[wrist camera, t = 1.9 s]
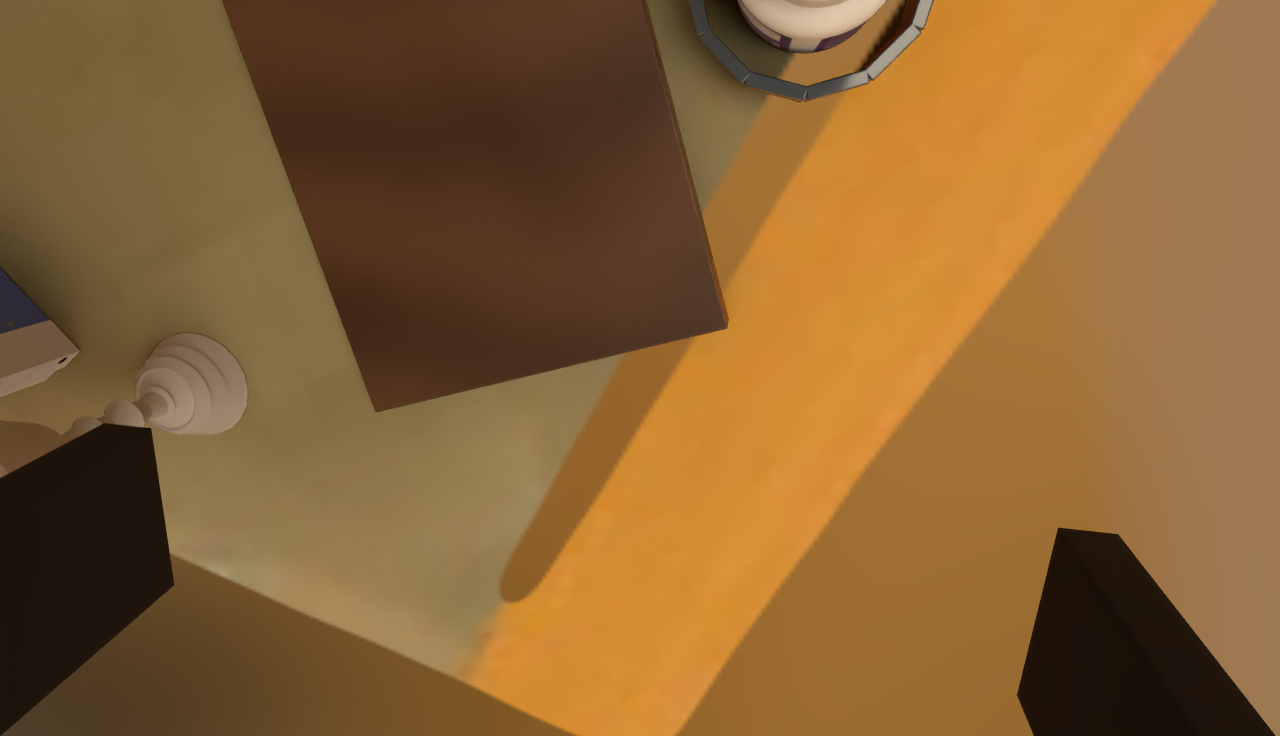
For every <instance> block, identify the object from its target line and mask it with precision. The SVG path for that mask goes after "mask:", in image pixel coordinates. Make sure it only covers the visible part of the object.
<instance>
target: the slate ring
mask: <svg viewBox="0 0 1280 736" xmlns="http://www.w3.org/2000/svg"><path fill="white" fill-rule="evenodd" d="M933 1H934V0H908V1H907V4H906V8H905V11H904V14H903V17H902V20H901V23H900V26H899V29H898V32H897V33H896V34H895V35H894V36H893V37H892V38H891V39H890V40H889V41H888V42H887V43H886V44H885V45H884V46H883V47H882V48H881V49H880V50H879V51H878V52H877V53H876V54H875V55H874V56H873V57H872V58H871V59H870V60H869V61H868V62H867V63H866V64H865V65H864V66H863V67H862V68H861V69H860V70H859V71H857V72H854V73H850V74H847V75H844V76H840V77H837V78H833V79H830V80H826V81H823V82H820V83H816V84H813V85H810V86H804V85H800V84H796V83H792V82H788V81H785V80H781V79H777V78H773V77H769V76H765V75H762V74H758V73H754V72H751V71H750V70H749V69H748V68H747V67H746V66H745V65H744V64H743V63H742V62H741V61H740V60H739V59H738V58H737V57H736V56H735V55H734V53H733V52H732V51H731V50H730V49H729V48H728V47H727V46H726V45H725V44H724V43H723V42H722V41H721V40H720V39H719V38H718V37H717V36H716V35H715V33H714V31H713V27H712V23H711V19H710V14H709V10H708V6H707V2H706V0H689V4H690V8H691V12H692V16H693V20H694V24H695V28H696V32H697V35H698V36H699V38H700V40H701V42H702V43H703V44H704V45H705V47H706V48H707V49H708V50H709V51H710V52H711V53H712V54H713V55H714V56H715V57H716V58H717V59H718V60H719V61H720V62H721V63H722V64H723V65H724V66H725V68H726V69H727V70H728V71H729V72H730V73H731V74H732V75H733V76H734V77H735V78H736V79H737V80H738V81H739V82H740V83H741V84H742V85H743V86H746V87H747V88H748V89H751V90H755V91H759V92H763V93H767V94H770V95H775V96H778V97H782V98H786V99H789V100H793V101H797V102H802V101H804V102H807V101H810V100H814V99H817V98H821V97H824V96H828V95H831V94H835V93H838V92H842V91H845V90H849V89H852V88H856V87H859V86H862V85H865V84H868V83H869V82H870V81H873V80H875V79H876V78H877V77H878V76H879V75H880V74H881V73H882V72H883V71H884V70H885V69H886V68H887V67H888V66H889V65H890V64H891V63H892V62H893V61H894V60H895V59H896V58H897V57H898V56H899V55H900V54H901V53H902V52H903V51H904V50H905V49H906V48H907V47H908V46H909V45H910V44H911V43H912V42H913V41H914V40H915V39H916V38H917V37H918V36H919V35H920V34H921V30H923V29H924V28H925V25H926V22H927V19H928V16H929V13H930V10H931V7H932V4H933Z"/></svg>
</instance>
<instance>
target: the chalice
mask: <svg viewBox="0 0 1280 736" xmlns="http://www.w3.org/2000/svg"><path fill="white" fill-rule="evenodd" d="M135 397H136V401H137V402H132V403H130V402H129V401H126V400H122V399H119V400H113V401H111V402H110V403H109V404H108V405H107V406H106V408H105V410H104V416H103V417H102V418H92V417H88V416H84V417H80V418H77V419H76V420H75V421H74V422H73V424H72V427H71V429H70V430H68V431H67V432H66V433H64V434H63V435H62V436H61V435H60V434H58V433H57V432H55V431H54V430H52V429H50V428H48V427H46V426H43V425H39V424H34V423H23V422H12V421H2V420H0V478H1V477H3V476H5V475H7V474H9V473H11V472H12V471H14V470H16V469H18V468H20V467H22V466H24V465H26V464H28V463H30V462H31V461H33V460H35V459H37V458H39V457H41V456H43V455H45V454H47V453H48V452H50V451H52V450H54V449H56V448H58V447H60V446H62V445H64V444H65V443H67V442H69V441H71V440H73V439H75V438H77V437H79V436H81V435H83V434H84V433H86V432H88V431H90V430H92V429H94V428H96V427H98V426H100V425H101V424H103V423H109V424H118V425H127V426H136V427H144V423H145V422H146V421H149V422H150V423H151V424H153V425H155V426H156V427H158V428H160V429H162V430H164V431H166V432H170V433H174V434H202V435H207V434H219V433H221V432H224V431H226V430H228V429H231V428H232V427H233V426H234V425H235V424H236V423H237V422H238V421H239V420H240V419H241V417H242V415H243V413H244V411H245V408H246V406H247V397H248V388H247V384H246V379H245V375H244V373H243V371H242V369H241V367H240V365H239V364H238V362H237V360H236V358H235V357H234V356H233V355H232V354H231V353H230V352H229V351H228V350H227V349H226V348H225V347H224V346H223V345H221V344H219V343H218V342H216V341H214V340H213V339H211V338H209V337H207V336H203V335H199V334H195V333H180V334H175V335H173V336H171V337H168V338H166V339H164V340H163V341H162V342H161V343H160V344H159V345H158V346H157V347H156V348H155V349H154V350H153V353H152V355H151V356H150V357H149V358H148V359H147V360H146V362H145V365H144V366H143V367H142V368H141V369H140V370H139V372H138V375H137V377H136V380H135Z"/></svg>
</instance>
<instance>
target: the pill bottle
mask: <svg viewBox="0 0 1280 736" xmlns="http://www.w3.org/2000/svg"><path fill="white" fill-rule="evenodd" d="M737 1H738V4H739V7H740V10H741V12H742V14H743V16H744V18H745V20H746V21H747V23H748V24H749V26H750V27H751V28H752V29H753V31H754V32H755V33H756V34H757V35H758V36H759V37H760V38H762V39H763V40H764V41H766V42H767V43H769V44H770V45H772V46H774V47H776V48H779V49H781V50H784V51H788V52H792V53H814V52H819V51H823V50H826V49H830V48H832V47H835V46H836V45H838V44H840V43H842V42H844V41H845V40H847V39H848V38H850V37H851V36H852V35H853V34H855V33H856V32H857V31H858V30H859V29H860V28H861V27H862V26H863V25H864V24H865V23H866V22H867V21H868V20H869V19H870V18H871V17H872V16H873V15H874V14H875V13H876V12H877V11H878V10H879V9H880V8H881V7H882V6H883V4H884V3H885V2H886V1H887V0H737Z"/></svg>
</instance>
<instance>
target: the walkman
mask: <svg viewBox="0 0 1280 736" xmlns="http://www.w3.org/2000/svg"><path fill="white" fill-rule="evenodd" d="M79 352H80V350H79V349H78V348H77V347H76V346H75V345H74V344H73V343H72V342H71V341H70V340H69V339H68V338H67V337H66V336H65V335H64V333H63V332H62V331H61V330H60V329H59V328H58V327H57V326H56V325H55V324H54V323H53V322H52V321H51V320H49V318H48V317H47V316H46V315H45V314H44V313H43V312H42V311H41V310H40V309H39V308H38V307H37V306H36V305H35V304H34V303H33V302H32V301H31V300H30V299H29V298H28V297H27V296H26V295H25V294H24V293H23V291H22V290H21V289H20V288H19V287H18V286H17V285H16V284H15V283H14V282H13V281H12V280H11V279H10V278H9V277H8V276H7V275H6V274H5V273H4V272H3V271H2V270H1V269H0V397H3V396H5V395H8V394H11V393H13V392H16V391H19V390H22V389H24V388H27V387H30V386H32V385H35V384H38V383H41V382H43V381H46V380H47V379H48V378H49V377H50V376H51V375H52V374H53V373H54V372H55V371H56V370H59V369H62V368H64V367H65V366H66V365H67V364H68V363H69V362H70V361H71V360H72V359H73V358H74V357H75V356H76V355H77V354H78V353H79Z"/></svg>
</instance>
